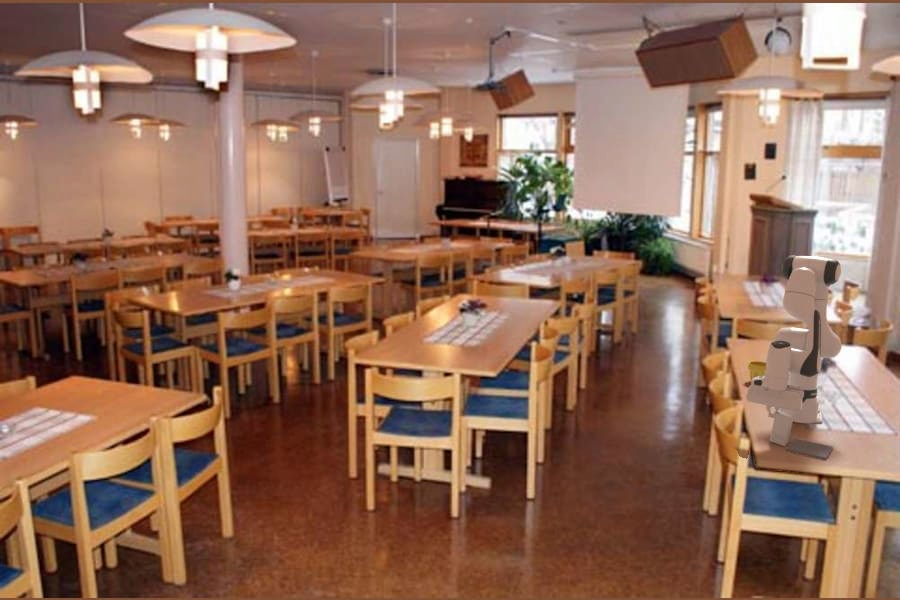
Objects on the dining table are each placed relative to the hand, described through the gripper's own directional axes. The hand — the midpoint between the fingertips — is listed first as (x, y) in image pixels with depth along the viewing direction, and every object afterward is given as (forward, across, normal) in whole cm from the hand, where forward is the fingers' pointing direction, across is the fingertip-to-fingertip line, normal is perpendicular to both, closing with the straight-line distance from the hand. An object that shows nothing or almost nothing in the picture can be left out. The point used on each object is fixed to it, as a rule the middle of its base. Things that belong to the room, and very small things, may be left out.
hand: (772, 417), depth 305 cm
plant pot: (+8, +26, -82) cm, 86 cm away
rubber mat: (+10, -15, -1) cm, 18 cm away
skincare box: (+10, -3, -1) cm, 11 cm away
